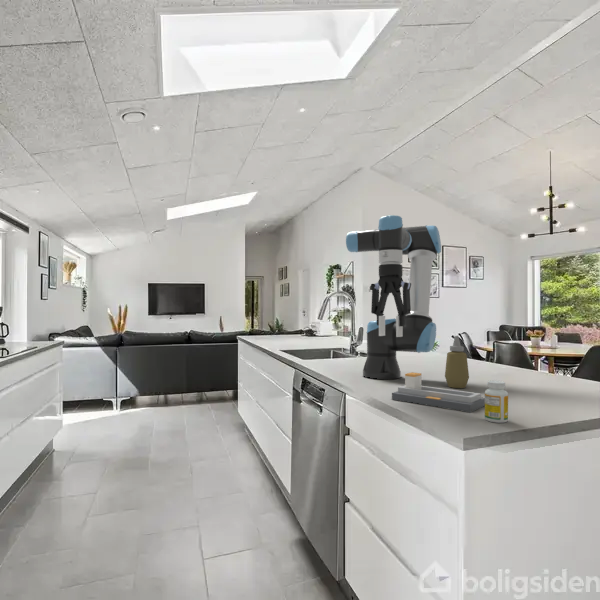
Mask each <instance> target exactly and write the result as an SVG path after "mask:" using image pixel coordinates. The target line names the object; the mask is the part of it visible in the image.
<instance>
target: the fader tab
mask: <svg viewBox="0 0 600 600" xmlns="http://www.w3.org/2000/svg"><path fill="white" fill-rule="evenodd" d="M404 386H405V388H413V389H420V390H421V386H422V372H421V373H420V372H408V373H404Z"/></svg>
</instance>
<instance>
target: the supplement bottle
mask: <svg viewBox="0 0 600 600" xmlns="http://www.w3.org/2000/svg"><path fill="white" fill-rule="evenodd" d="M487 387H488V388H487V389H485V391H484V398H485V406H484V420H485V421H487V422H491V423H497V424H502V423H506V422H508V420H509V392H508V391H507V390H505V389H506V382H505V381H502V380H501V381H500V380H488V381H487Z"/></svg>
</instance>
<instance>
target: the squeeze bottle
mask: <svg viewBox="0 0 600 600" xmlns="http://www.w3.org/2000/svg"><path fill="white" fill-rule="evenodd" d="M464 351H465V347H464V346H463V345H461V341H460V337H459V335H455V336H454V338H453V343H452V345H450V346H449V352H446V361H445V362H446V363H445V373H444V378H445V381H446V383H447V386H448V388H452V389H463V388H466V387H467V385H468V382H469V380H470V374H469V373H470V372H469V365H468V364H469V363H468V355H467V353H466V352H464Z"/></svg>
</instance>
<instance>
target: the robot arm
mask: <svg viewBox="0 0 600 600" xmlns="http://www.w3.org/2000/svg"><path fill="white" fill-rule="evenodd" d="M403 226H404V224H403V218H402V216H400V215H394V214H392V215H391V214H389V215H384V216H381V217H380V218H379V219H378V227H377V229H366V230H365V229H364V230H354V231H349V232H348V233H347V234H346V237H345V245H346V249H347V251H348V252H350V253H363V252H364V253H366V252H378V263H379V265H378V278H379V279H378V281H377V282H376V283H371V284H370V287H371V306H370V307H371V312H370V313H371V314H374V315H375V316H376V320H370V321H369V322H368V323H367V325H366V326H367V327H366V328H367V329H366V330H367V331H366V359H365V362H364V365H363V369H362V377H364V376H365V377H364V378H366V377H370V378H369V379H373V378H377V379H376V380H396V379H401V376H402V372H401V369H400V366H399V363H398V360H397V352H407V353H408V352H409V353H418V354H421V353H430V352H431V351H432V350H433V349H434V346H435V343H436V337H437V325H436V323H435V322H434V321H433V318H432V317H431V316H430V314H429V313H430V299H431V286H432V272H433V271H432V270H433V261H435V259H436V258H437V254H440V253H441V252H442V244H441V237H440V231H439V228H438V227H437V226H436V225H428V224H427V225H419V226H406V227H403ZM404 255H405V256H407V259H409V260H410V270H409V279H408V282H407V281H404V279H403V265H402V264H403V256H404ZM401 288H402V292H401ZM390 294H392V296H393V298H394V302H395V305H396V310H397V315H396V316H395V318H386V315H385V313H384V311H385V309H386V306H387V305H386V304H387V300H388V297H389V295H390ZM401 295H402V296H401Z"/></svg>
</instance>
